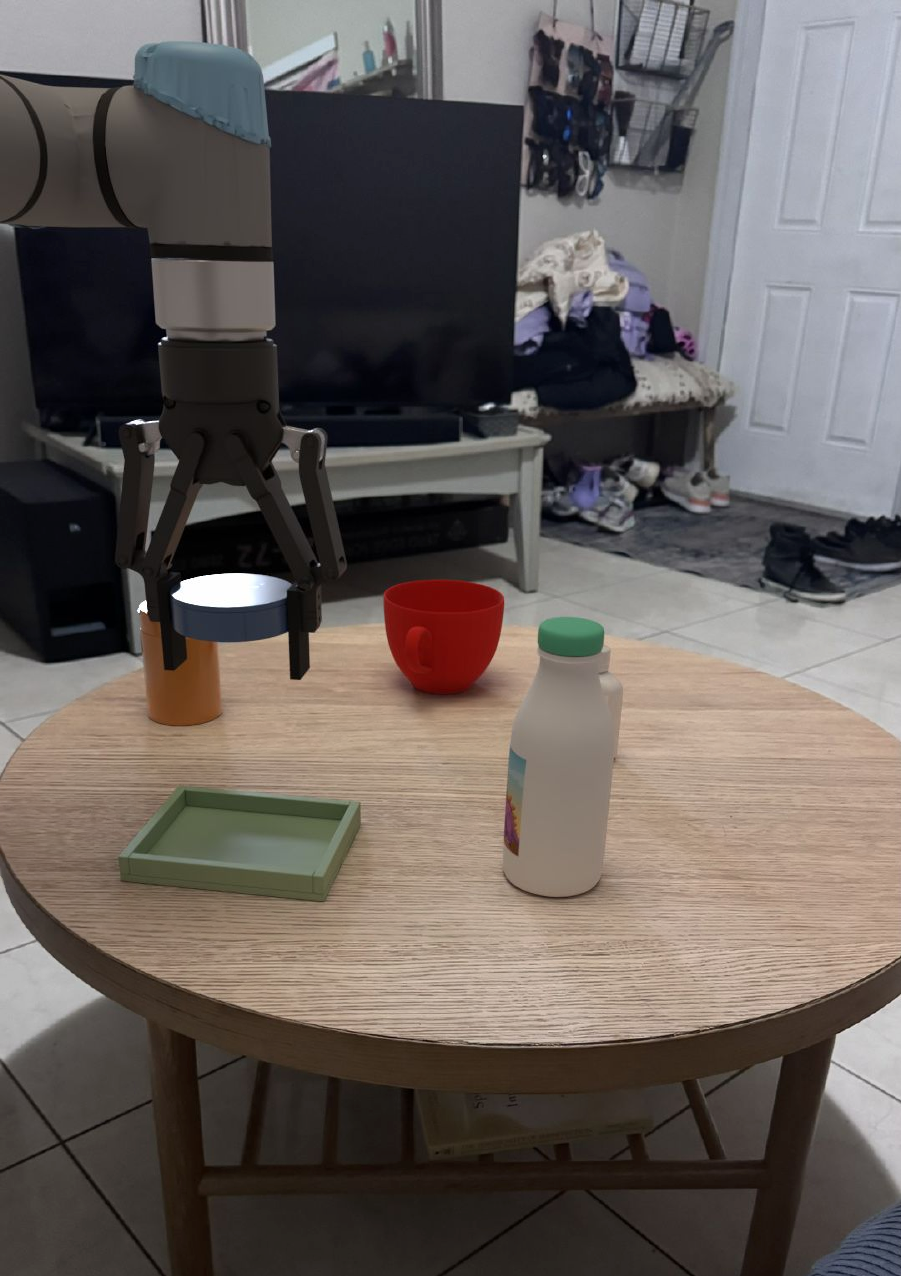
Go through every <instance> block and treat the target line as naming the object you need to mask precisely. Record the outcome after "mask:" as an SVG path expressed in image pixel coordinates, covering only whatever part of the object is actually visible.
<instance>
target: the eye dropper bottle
mask: <svg viewBox="0 0 901 1276" xmlns="http://www.w3.org/2000/svg"><path fill="white" fill-rule="evenodd" d="M611 650H612V649H611V647H610V646H609V645H606V644H605V643H604V644H603V648H602V658H601V659H600V660H599V661H598V673H599V679H600V683H601V687H602V691H603V694H604V697H605V700H606V702H607V705H608V707H609V710H610V713H611V717H612V721H613V728H614V759H615V758H616V757H617V755H618V750H619V749H618V748H619V740H620V739H619V738H620V730H621V719H622V709H623V708H622V707H623V699H624V697H623V696H624V685H623V684H622V682H621V681H620V680H619V679H618V677H617V676H616V675H614V674H613V673H611V672H610V671H609V670H610V660H611V652H612V651H611Z"/></svg>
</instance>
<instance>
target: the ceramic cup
mask: <svg viewBox="0 0 901 1276" xmlns="http://www.w3.org/2000/svg"><path fill="white" fill-rule="evenodd" d="M383 593H384V594H383V599H382V601H383V602H382V603H383V604H382V605H383V618H384V619H383V620H384V627H385V634H386V639H387V644H388V647H389V651H390V652H391V655H392V658H393V660H394V663H395V664H396V666H397V667H398V669H399V670H400V672H401V673H402V674H403V675H404V676H405V677H406V679H407V680H408V681H409V682H411V685H412V686H413V687H414V688H415V689H417V690H419V691H422V692H425V693H429V694H436V695H451V694H458V693H462V692H465V691H467V690H469V689H471V687H472V686H473V684H475V682H476V681H477V680H478V679H480V677H481V676H482V675H483V674H484V673H485V671H486V670H487V669H488V667H489V666H490V664H491V662H492V660H493V658H494V656H495V655H496V652H497V649H498V646H499V643H500V639H501V633H502V628H503V621H504V614H505V597H504V595H503V594H502V592H501V591H499V590H497V589H496V588H493V587H491V586H489V585H485V584H483V583H482V584H481V583H476V582H472V581H465V580H453V579H423V580H413V581H407V582H402V583H398V584H396V585H393V586H390V587H389V588H387V589H386V590H385V591H384V592H383Z"/></svg>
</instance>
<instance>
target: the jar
mask: <svg viewBox="0 0 901 1276" xmlns="http://www.w3.org/2000/svg"><path fill="white" fill-rule="evenodd" d="M137 613H138V615H139V623H140V627H139V635H140V647H141V656H142V665H143V666H142V667H143V676H144V687H145V698H146V699H145V700H146V708H147V716H148V718H149V719H150V720H152V721H153V722H156V723H158V724H162V725H167V726H174V727H175V726H176V727H177V726H179V727H183V726H194V725H200V724H205V723H208V722H211V721H213V720H215V719H216V718H219V717H220V715H221V714H222V713H223V701H222V700H223V699H222V698H223V697H222V686H221V685H222V684H221V682H222V681H221V669H220V655H219V642H210V641H203V640H197V639H192V638H189V637H186V648H187V660H186V661H184V662H183V663H182V664H181V665H180V666H179V667H178V668H177V669H176V670H175V671H171V670H164V661H163V650H162V639H161V628H160V622H151V621H150V619H149V617H148V615H147V605H146V600H144V601H142V602H141V603H140V604H138V609H137Z"/></svg>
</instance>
